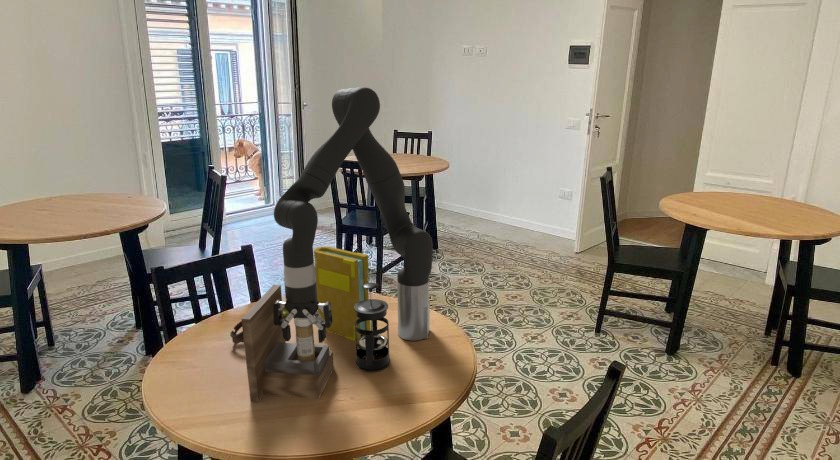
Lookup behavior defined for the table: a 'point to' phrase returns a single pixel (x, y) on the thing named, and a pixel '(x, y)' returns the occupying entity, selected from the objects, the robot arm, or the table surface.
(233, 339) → the pottery mug
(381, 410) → the table surface
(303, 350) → the sprinkles bottle
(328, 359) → the brown wooden holder
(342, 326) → the book
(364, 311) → the french press
